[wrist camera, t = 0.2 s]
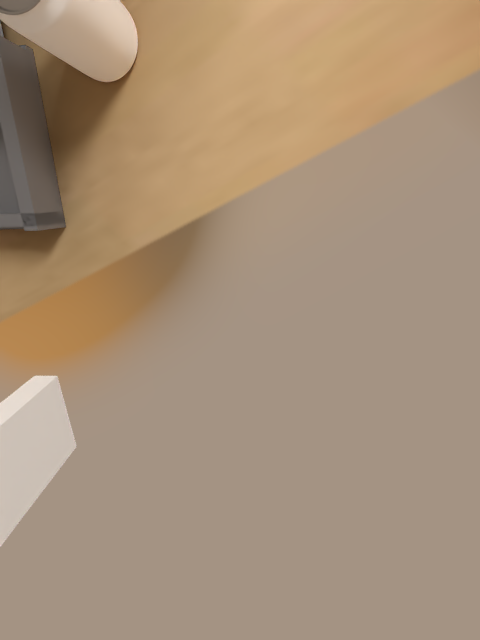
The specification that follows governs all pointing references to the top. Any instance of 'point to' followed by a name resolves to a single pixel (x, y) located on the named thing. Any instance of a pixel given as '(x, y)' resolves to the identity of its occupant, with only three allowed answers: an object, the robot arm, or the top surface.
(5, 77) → the tray
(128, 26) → the can
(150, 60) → the top surface
